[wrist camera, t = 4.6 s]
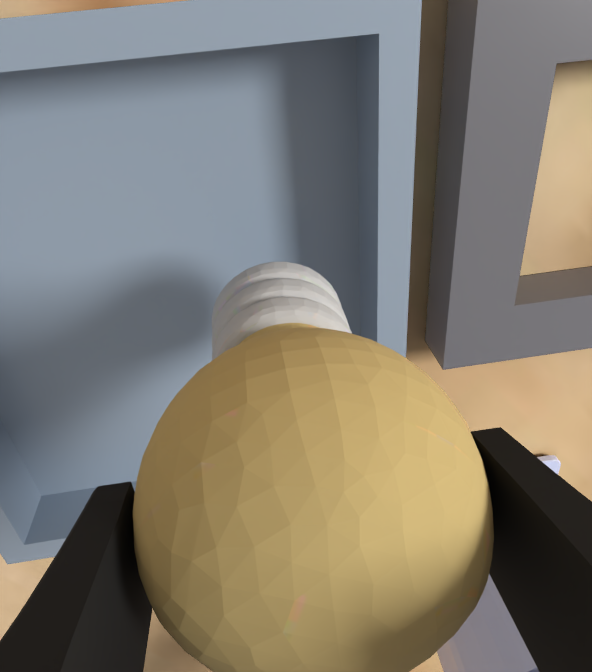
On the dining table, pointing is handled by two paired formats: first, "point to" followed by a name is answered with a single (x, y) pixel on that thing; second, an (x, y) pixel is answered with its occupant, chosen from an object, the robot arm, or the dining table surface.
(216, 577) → the light bulb
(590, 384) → the dining table surface
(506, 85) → the socket block
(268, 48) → the parts tray
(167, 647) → the dining table surface
